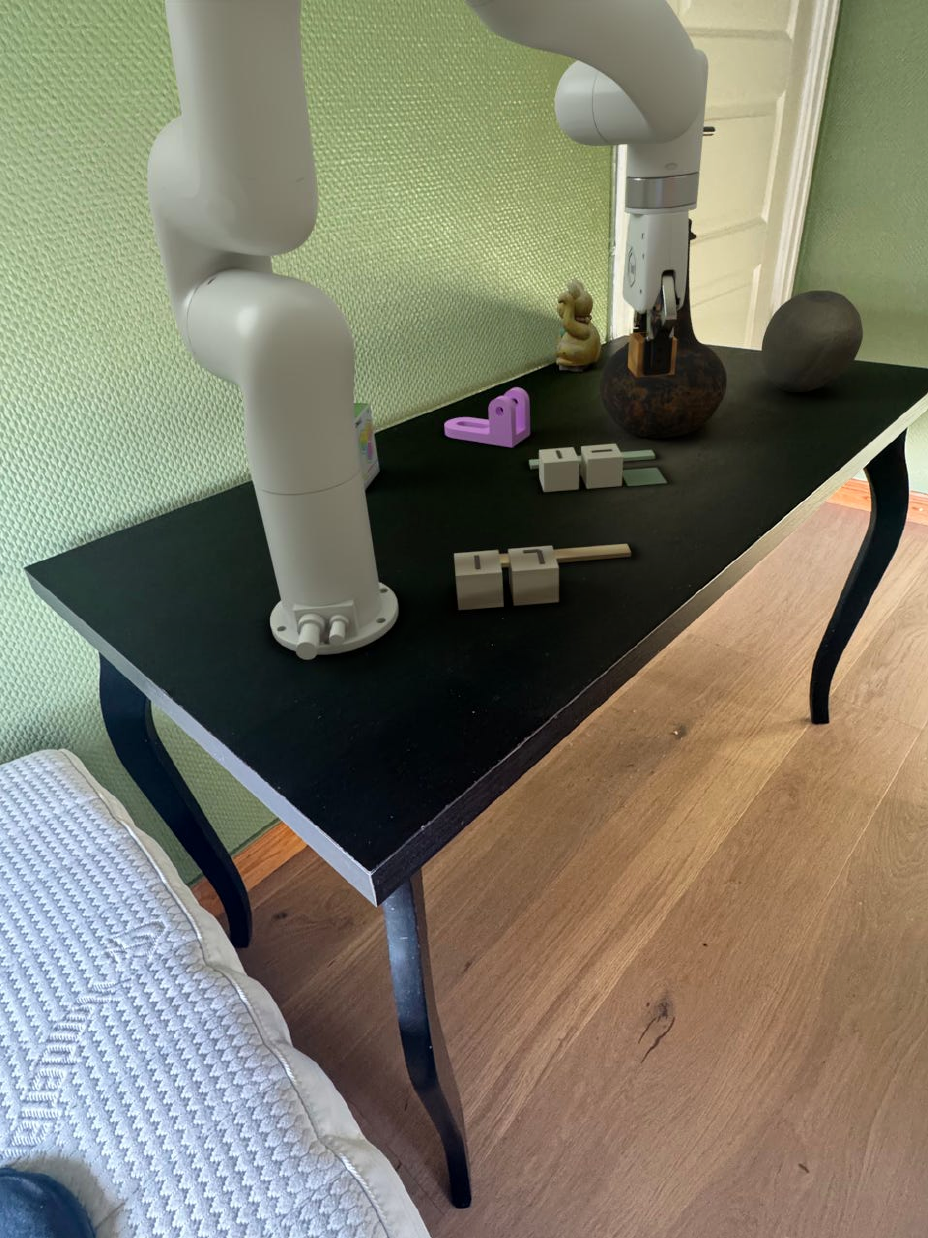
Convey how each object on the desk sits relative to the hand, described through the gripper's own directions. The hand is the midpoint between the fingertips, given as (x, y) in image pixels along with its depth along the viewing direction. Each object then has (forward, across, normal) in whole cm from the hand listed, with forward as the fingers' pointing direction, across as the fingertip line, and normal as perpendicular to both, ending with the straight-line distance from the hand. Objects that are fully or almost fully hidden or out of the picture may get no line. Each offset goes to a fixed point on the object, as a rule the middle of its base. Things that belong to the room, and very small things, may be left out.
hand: (650, 366), depth 91 cm
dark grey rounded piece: (+15, -28, +32) cm, 46 cm away
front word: (+14, +23, -16) cm, 31 cm away
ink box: (+14, -6, -38) cm, 41 cm away
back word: (+14, -3, -6) cm, 16 cm away
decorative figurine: (+15, -52, 0) cm, 54 cm away
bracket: (+15, -20, -20) cm, 32 cm away
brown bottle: (+15, -17, +6) cm, 24 cm away
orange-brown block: (+1, 0, 0) cm, 1 cm away
